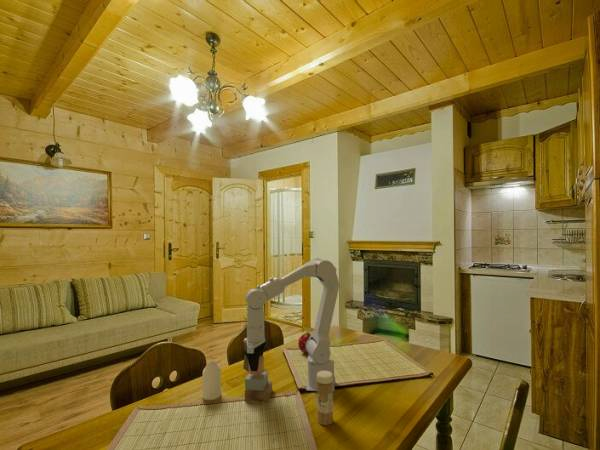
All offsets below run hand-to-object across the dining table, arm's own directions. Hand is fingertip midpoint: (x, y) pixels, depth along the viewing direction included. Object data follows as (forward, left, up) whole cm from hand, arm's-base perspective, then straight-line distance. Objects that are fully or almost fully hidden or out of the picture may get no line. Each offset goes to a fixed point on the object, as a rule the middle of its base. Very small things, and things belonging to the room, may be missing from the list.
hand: (256, 367), depth 104 cm
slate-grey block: (0, 0, -6) cm, 6 cm away
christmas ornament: (-14, -37, -10) cm, 41 cm away
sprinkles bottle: (-23, +12, -10) cm, 28 cm away
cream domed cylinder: (+15, +1, -10) cm, 18 cm away
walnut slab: (-1, -1, -10) cm, 10 cm away
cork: (+8, -22, -10) cm, 25 cm away
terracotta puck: (0, 0, -1) cm, 1 cm away
